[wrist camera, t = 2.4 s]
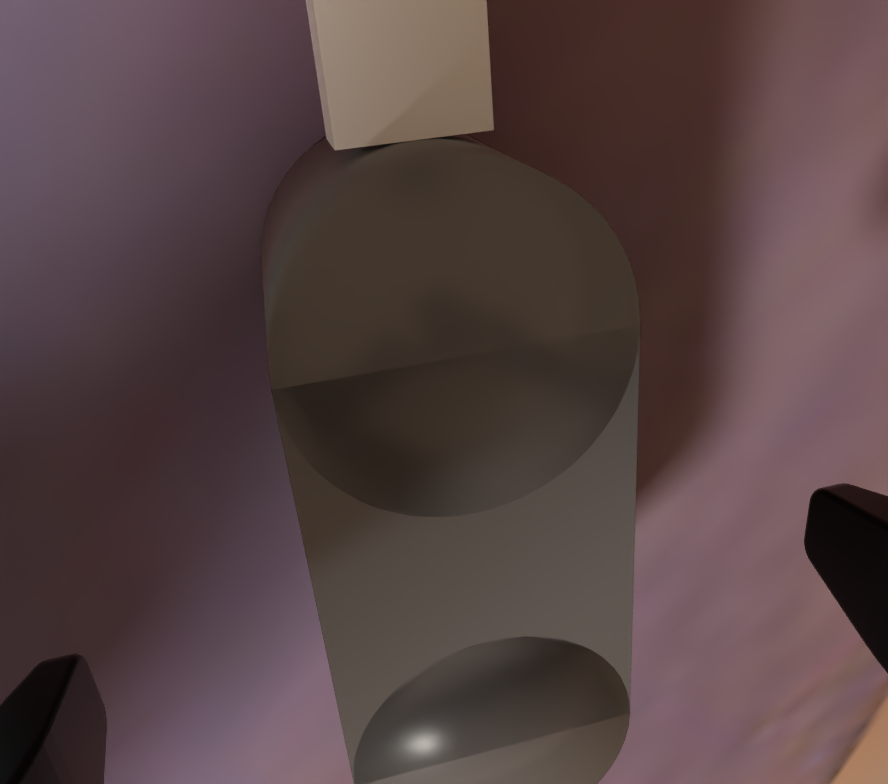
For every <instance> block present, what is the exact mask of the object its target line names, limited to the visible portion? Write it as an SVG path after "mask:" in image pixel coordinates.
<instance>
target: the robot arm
mask: <svg viewBox="0 0 888 784" xmlns="http://www.w3.org/2000/svg"><path fill="white" fill-rule="evenodd" d="M804 545H805V550H806V553H807V556H808V558H809V560H810V562H811V563H812V565H813V566H814V568H815V569H816V571H817V572H818V574H819V575H820V577H821V578H822V580H823V581H824V583H825V584H826V586H827V587H828V589H829V590H830V592H831V593H832V595H833V596H834V598H835V599H836V601H837V602H838V604H839V605H840V607H841V608H842V610H843V611H844V613H845V614H846V616H847V617H848V619H849V620H850V622H851V623H852V624H853V626H854V627H855V629H856V630H857V632H858V633H859V635H860V636H861V638H862V639H863V641H864V642H865V644H866V645H867V647H868V648H869V649H870V651H871V652H872V654H873V655H874V656H875V658H876V659H877V660H878V662H879V663H880V664H881V666H882V667H883V668H884V669H885V671H886V672H887V673H888V496H885V495H882V494H879V493H876V492H873V491H870V490H866V489H863V488H860V487H857V486H854V485H850V484H837V485H832V486H828V487H823V488H819V489H817V490H816V491H814V493H813V494H812V496H811V498H810V503H809V510H808V517H807V523H806V530H805V537H804ZM106 733H107V719H106V711H105V707H104V704H103V701H102V699H101V696H100V694H99V691H98V689H97V686H96V684H95V681H94V679H93V676H92V674H91V671H90V669H89V666H88V664H87V662H86V660H85V659H84V658H83V656H81V655H79V654H71V655H67V656H62V657H57V658H53V659H48V660H45V661H43V662H41V663H39V664H38V665H37V666H36V667H35V668H34V669H33V670H32V671H31V672H30V673H29V674H28V675H27V677H26V678H25V679H24V680H23V681H22V682H21V683H20V684H19V685H18V686H17V687H16V688H15V689H14V691H13V692H12V693H11V694H10V695H9V696H8V697H7V698H6V699H5V700H4V701H3V702H2V704H1V705H0V784H104V768H105V751H106Z"/></svg>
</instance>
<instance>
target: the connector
mask: <svg viewBox="0 0 888 784" xmlns="http://www.w3.org/2000/svg"><path fill="white" fill-rule="evenodd" d="M306 6H307V13H308V20H309V26H310V33H311V39H312V46H313V53H314V59H315V66H316V73H317V79H318V86H319V93H320V99H321V106H322V113H323V119H324V126H325V133H326V137H325V138H324V139H322V140H321V141H319V142H318V143H316V144H315V145H313V146H312V147H311V148H310V149H309V150H308V151H307V152H306V153H304V154H303V155H302V156H301V157H300V158H299V159H298V160H297V161H296V163H295V164H294V165H293V166H292V167H291V169H290V170H289V171H288V172H287V173H286V175H285V177H284V178H283V180H282V182H281V183H280V185H279V186H278V188H277V190H276V192H275V194H274V196H273V199H272V201H271V203H270V205H269V208H268V212H267V215H266V219H265V222H264V227H263V234H262V241H261V264H262V279H263V295H264V310H265V326H266V342H267V357H268V369H269V377H270V384H271V391H272V396H273V401H274V405H275V410H276V415H277V420H278V424H279V429H280V434H281V439H282V443H283V448H284V453H285V458H286V462H287V467H288V472H289V477H290V482H291V486H292V491H293V496H294V501H295V505H296V510H297V515H298V520H299V524H300V529H301V534H302V539H303V543H304V548H305V553H306V558H307V562H308V567H309V572H310V577H311V581H312V586H313V591H314V596H315V601H316V605H317V610H318V615H319V620H320V624H321V629H322V634H323V639H324V643H325V648H326V653H327V658H328V662H329V667H330V672H331V677H332V681H333V686H334V691H335V696H336V700H337V705H338V710H339V715H340V719H341V724H342V729H343V734H344V739H345V743H346V748H347V753H348V758H349V762H350V767H351V772H352V777H353V781H354V784H597V783H598V782H599V781H600V780H601V779H602V778H603V777H604V775H605V774H606V773H607V771H608V770H609V769H610V767H611V766H612V764H613V763H614V761H615V759H616V758H617V756H618V754H619V752H620V750H621V748H622V745H623V743H624V741H625V738H626V734H627V730H628V727H629V718H630V693H631V656H632V619H633V582H634V545H635V508H636V471H637V434H638V397H639V360H640V302H639V297H638V291H637V285H636V280H635V277H634V274H633V271H632V268H631V265H630V261H629V259H628V257H627V255H626V253H625V251H624V249H623V246H622V244H621V242H620V240H619V238H618V237H617V236H616V234H615V233H614V231H613V230H612V228H611V227H610V225H609V224H608V223H607V221H606V220H605V219H604V218H603V217H602V215H601V214H600V213H599V212H598V211H597V210H596V209H595V208H594V207H593V206H592V205H591V204H590V203H589V202H588V201H587V200H585V199H584V198H583V197H582V196H580V195H579V194H578V193H577V192H575V191H574V190H573V189H571V188H570V187H568V186H566V185H565V184H563V183H561V182H559V181H558V180H556V179H554V178H552V177H551V176H549V175H547V174H545V173H543V172H541V171H538V170H536V169H534V168H532V167H530V166H528V165H526V164H524V163H522V162H520V161H518V160H516V159H514V158H512V157H510V156H508V155H506V154H504V153H501V152H499V151H497V150H495V149H493V148H491V147H489V146H487V145H485V144H483V143H481V142H479V141H477V140H475V139H473V138H471V137H469V136H467V135H464V134H468V133H476V132H484V131H492V130H494V122H493V105H492V87H491V70H490V52H489V35H488V17H487V0H306Z"/></svg>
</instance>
